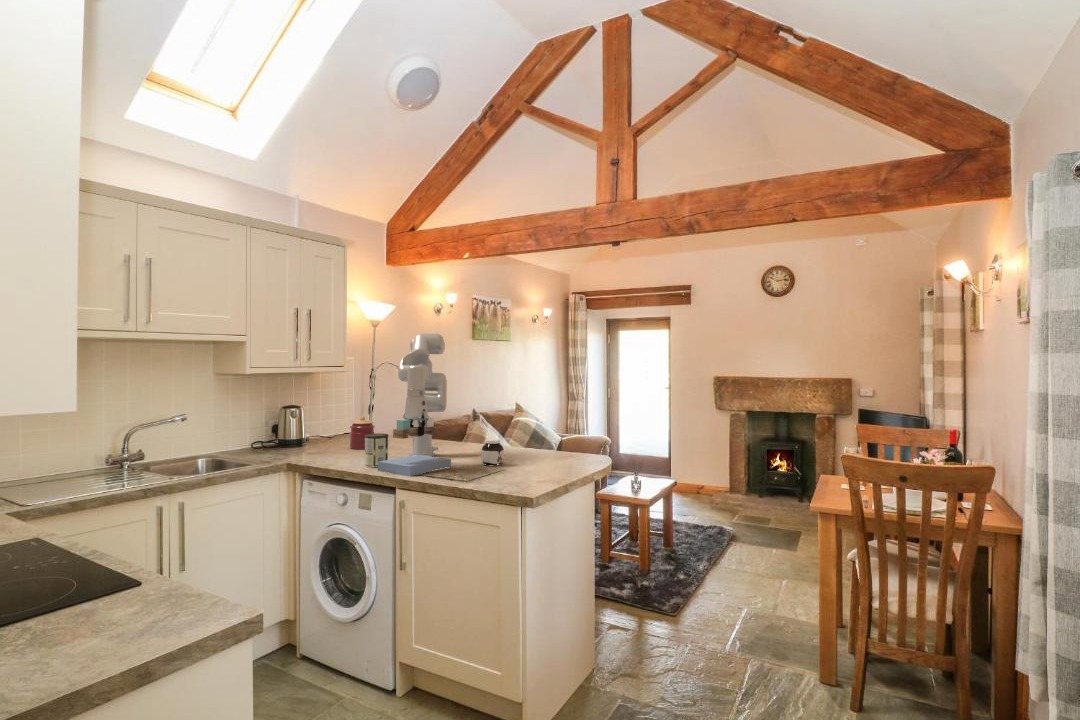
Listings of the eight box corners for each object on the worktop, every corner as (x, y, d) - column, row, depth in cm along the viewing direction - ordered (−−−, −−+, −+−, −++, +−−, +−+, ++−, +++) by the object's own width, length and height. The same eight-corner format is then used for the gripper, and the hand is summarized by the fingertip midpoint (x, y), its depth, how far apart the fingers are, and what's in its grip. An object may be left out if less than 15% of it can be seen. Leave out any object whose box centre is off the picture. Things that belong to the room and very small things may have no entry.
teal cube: (403, 428, 244) (403, 419, 244) (410, 429, 242) (410, 419, 242) (396, 429, 241) (396, 420, 241) (403, 430, 239) (403, 420, 239)
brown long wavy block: (427, 433, 257) (427, 425, 257) (436, 434, 254) (436, 426, 254) (393, 437, 241) (393, 429, 241) (402, 438, 237) (402, 430, 237)
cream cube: (427, 425, 256) (427, 417, 256) (433, 426, 254) (433, 417, 254) (420, 426, 253) (420, 417, 253) (427, 427, 250) (427, 418, 250)
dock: (419, 463, 262) (419, 454, 263) (450, 467, 251) (450, 459, 251) (378, 470, 243) (378, 461, 243) (410, 476, 231) (410, 466, 231)
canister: (345, 449, 306) (345, 416, 306) (356, 446, 318) (357, 414, 319) (367, 450, 303) (368, 417, 304) (378, 446, 316) (378, 415, 316)
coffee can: (375, 463, 262) (375, 432, 263) (392, 464, 258) (393, 434, 258) (359, 466, 253) (359, 435, 253) (377, 468, 249) (377, 436, 249)
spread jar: (488, 467, 254) (488, 441, 254) (474, 463, 263) (474, 438, 263) (509, 464, 262) (509, 439, 262) (494, 461, 270) (495, 437, 271)
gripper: (436, 394, 246) (435, 435, 245) (408, 392, 255) (408, 432, 255) (423, 394, 239) (423, 437, 239) (396, 393, 249) (395, 434, 249)
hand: (415, 434), depth 247 cm, fingers closed on brown long wavy block, 6 cm apart
